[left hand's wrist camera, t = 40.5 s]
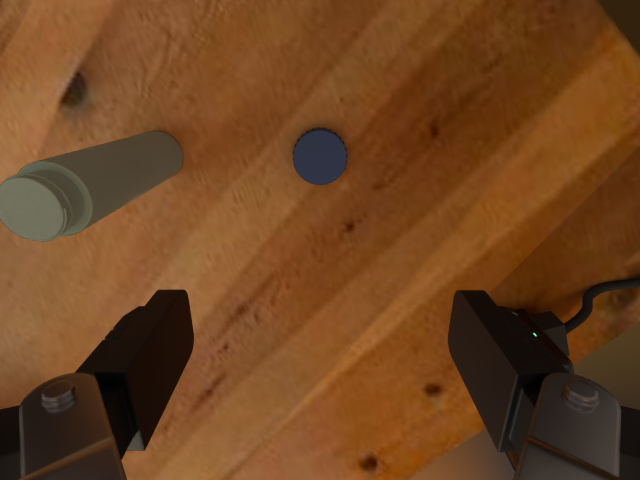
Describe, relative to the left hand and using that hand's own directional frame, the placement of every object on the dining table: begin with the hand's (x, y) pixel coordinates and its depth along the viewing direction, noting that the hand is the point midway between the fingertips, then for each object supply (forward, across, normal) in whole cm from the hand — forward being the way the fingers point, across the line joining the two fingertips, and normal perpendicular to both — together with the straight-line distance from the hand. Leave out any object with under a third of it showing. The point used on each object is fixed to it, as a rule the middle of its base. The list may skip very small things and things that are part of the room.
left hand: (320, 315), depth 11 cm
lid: (+27, 0, 0) cm, 27 cm away
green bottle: (+29, +16, 0) cm, 34 cm away
